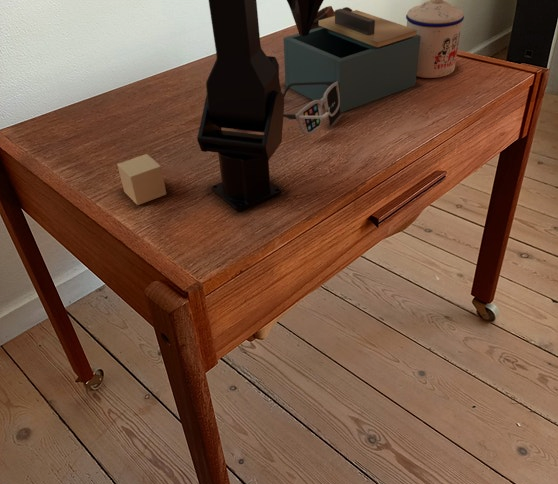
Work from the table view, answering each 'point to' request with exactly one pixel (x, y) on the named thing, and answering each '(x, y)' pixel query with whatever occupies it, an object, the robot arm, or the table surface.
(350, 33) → the sliding lid
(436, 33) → the teacup with lid
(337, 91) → the smart glasses
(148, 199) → the block
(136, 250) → the table surface
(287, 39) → the box
